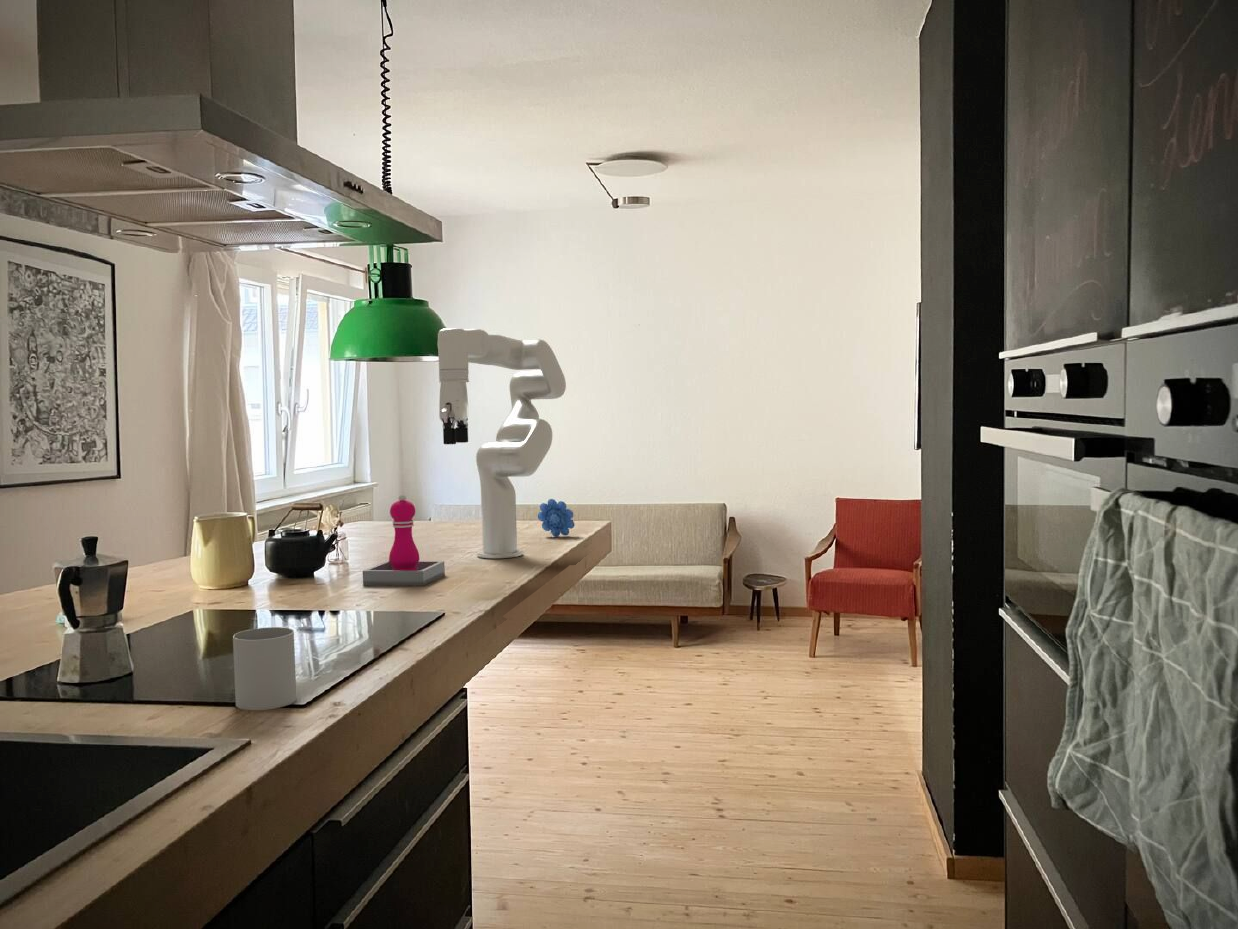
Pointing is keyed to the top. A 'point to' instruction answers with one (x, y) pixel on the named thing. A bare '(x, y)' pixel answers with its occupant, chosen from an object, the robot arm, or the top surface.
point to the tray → (403, 574)
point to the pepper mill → (403, 536)
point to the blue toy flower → (556, 517)
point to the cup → (264, 668)
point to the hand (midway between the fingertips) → (456, 443)
